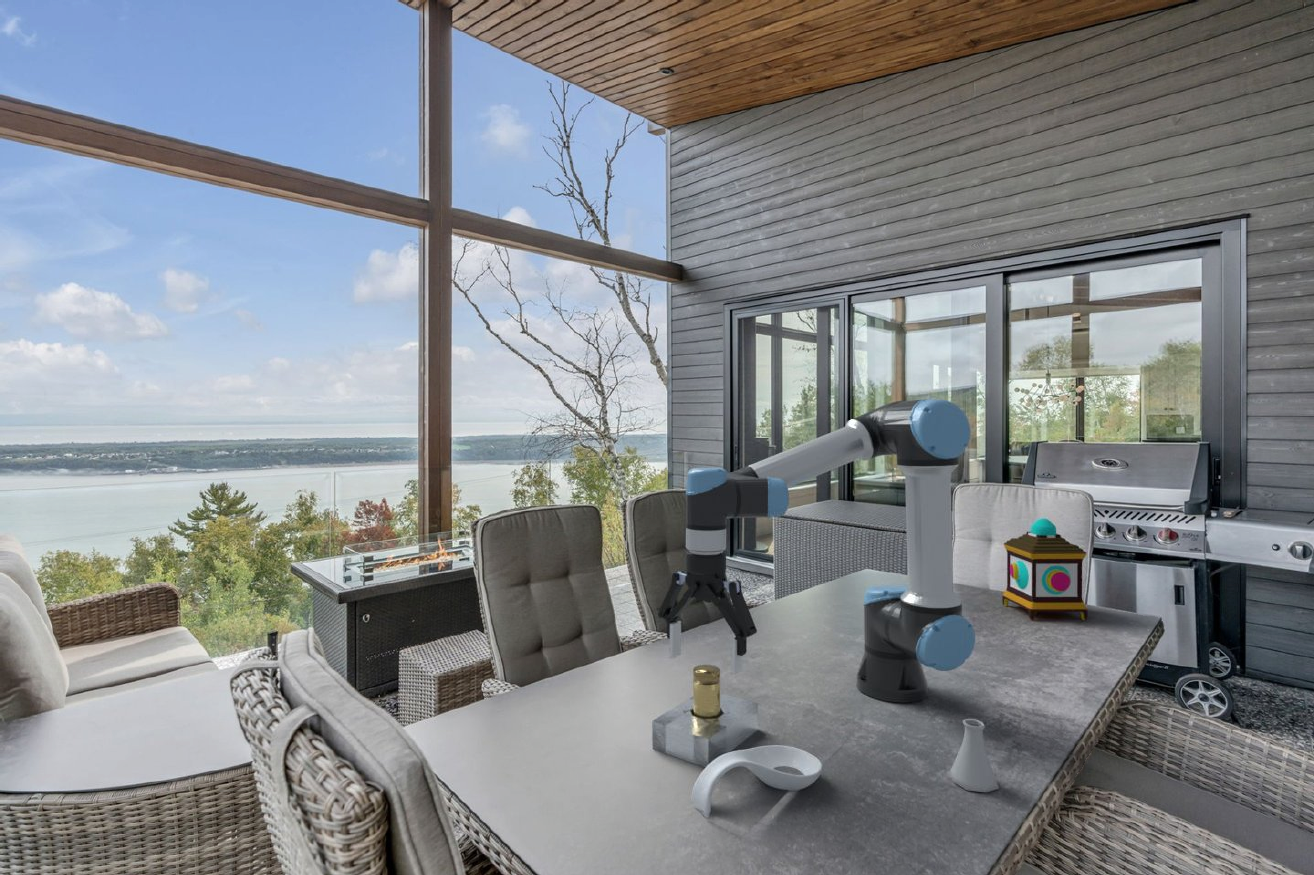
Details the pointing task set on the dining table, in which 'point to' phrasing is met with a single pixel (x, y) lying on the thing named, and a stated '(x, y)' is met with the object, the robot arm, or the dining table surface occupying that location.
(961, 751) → the flask
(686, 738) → the bore housing
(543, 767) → the dining table surface
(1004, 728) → the dining table surface
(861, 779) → the dining table surface
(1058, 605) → the decorative lantern
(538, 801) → the dining table surface
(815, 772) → the spoon rest
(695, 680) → the gold capped cylinder
